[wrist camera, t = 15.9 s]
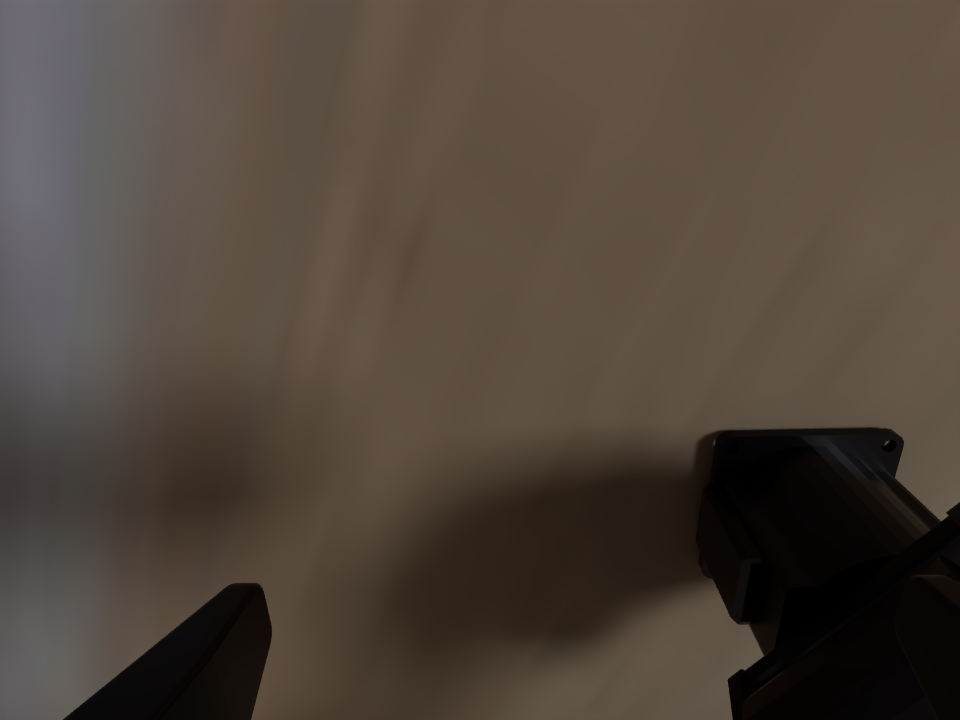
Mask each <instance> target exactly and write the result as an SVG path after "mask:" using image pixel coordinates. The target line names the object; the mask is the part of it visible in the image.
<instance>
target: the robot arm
mask: <svg viewBox="0 0 960 720" xmlns="http://www.w3.org/2000/svg"><path fill="white" fill-rule="evenodd" d="M889 440H890V441H889ZM886 441H889V443H888V444H887V445H885V446H882V445H883V443H885V442H886ZM731 443H736V445H735V446H734V447H733V448H732V449H726V447H727V446H728V445H729V444H731ZM903 446H904V441H903V439H902V437H900V436H899V435H898V434H897V433H896V432H894V431H893V430H891V429H886V428H884V429H830V430H776V431H730V432H725V433H723V434H721V435H720V436H719V437H718V438H717V440H716V442H715V448H714V455H713V463H712V470H711V477H710V484H708V485H706V487H705V488H704V489H703V490H702V497H701V505H700V512H699V520H698V528H697V535H696V543H697V545H698V547H699V549H700V558H699V566H700V568H701V570H702V573H703V574H704V575H705V576H706V577H708V578H713V580H714V582H715V584H716V586H717V589H718V591H719V593H720V595H721V597H722V599H723V602H724V604H725V606H726V608H727V610H728V613H729V615H730V617H731V618H732V619H733V620H734V621H735V622H736V623H737V624H739V625H747V624H749V626H750V628H751V630H752V632H753V634H754V636H755V638H756V640H757V643H758V645H759V647H760V649H761V651H762V653H763V655H764V657H762V658H761V659H760V660H758V661H757V662H756V663H754V664H753V665H752V666H750V667H749V668H748V669H746V670H743V669H740V670H739V671H738V672H736V673H735V674H734V675H732V676H731V677H730V678H729V679H728V686H729V694H730V702H731V709H732V717H733V720H960V502H959V503H958V504H957V505H955V506H954V507H953V508H951V509H950V510H949V511H947V512H946V513H947V514H948V515H949V516H948V517H947V518H945V519H944V520H943V521H940V520H939V519H938V518H937V517H936V516H935V515H934V514H933V513H932V512H931V511H929V510H928V509H927V508H926V507H925V506H924V505H923V504H922V503H921V502H920V501H919V500H918V499H917V498H916V497H915V496H913V495H912V494H911V493H910V492H909V491H908V490H907V489H906V488H905V487H904V486H903V485H902V484H901V483H900V482H899V481H897V480H896V479H895V475H896V471H897V468H898V464H899V460H900V457H901V453H902V450H903ZM271 637H272V626H271V621H270V617H269V612H268V608H267V603H266V599H265V595H264V591H263V588H262V587H261V585H259V584H257V583H234V584H231V585H229V586H227V587H226V588H224V589H223V590H222V591H221V592H219V593H218V594H217V595H216V596H215V597H213V598H212V599H211V600H210V601H208V602H207V603H206V604H205V605H203V606H202V607H201V608H200V609H199V610H197V611H196V612H195V613H194V614H192V615H191V616H190V617H189V618H187V619H186V620H185V621H184V622H183V623H181V624H180V625H179V626H178V627H176V628H175V629H174V630H173V631H171V632H170V633H169V634H168V635H167V636H165V637H164V638H163V639H162V640H160V641H159V642H158V643H157V644H155V645H154V646H153V647H152V648H151V649H149V650H148V651H147V652H146V653H144V654H143V655H142V656H141V657H139V658H138V659H137V660H136V661H134V662H133V663H132V664H131V665H130V666H128V667H127V668H126V669H125V670H123V671H122V672H121V673H120V674H118V675H117V676H116V677H115V678H114V679H112V680H111V681H110V682H109V683H107V684H106V685H105V686H104V687H102V688H101V689H100V690H99V691H98V692H96V693H95V694H94V695H93V696H91V697H90V698H89V699H88V700H86V701H85V702H84V703H83V704H82V705H80V706H79V707H78V708H77V709H75V710H74V711H73V712H72V713H70V714H69V715H68V716H67V717H66V718H64V719H63V720H251V718H252V714H253V710H254V706H255V702H256V698H257V694H258V690H259V686H260V683H261V679H262V675H263V671H264V667H265V663H266V659H267V655H268V651H269V648H270V643H271Z"/></svg>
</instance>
